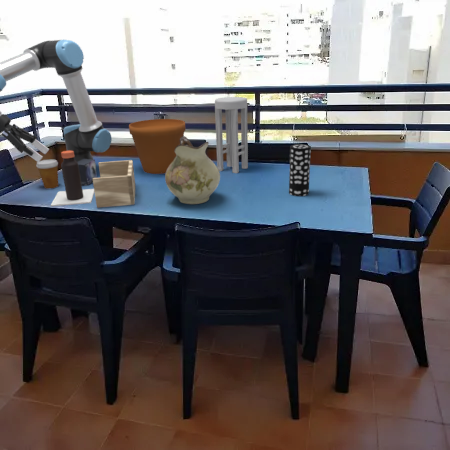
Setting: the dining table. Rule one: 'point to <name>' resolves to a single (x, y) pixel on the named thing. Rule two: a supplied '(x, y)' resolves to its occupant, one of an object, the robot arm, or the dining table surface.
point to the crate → (115, 184)
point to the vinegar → (71, 176)
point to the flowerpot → (156, 142)
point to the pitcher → (192, 173)
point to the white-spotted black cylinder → (299, 169)
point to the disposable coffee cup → (48, 173)
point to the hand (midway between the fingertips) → (44, 155)
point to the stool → (231, 132)
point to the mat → (62, 200)
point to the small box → (87, 171)
